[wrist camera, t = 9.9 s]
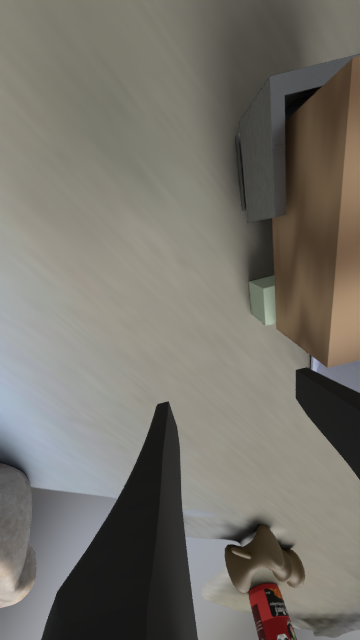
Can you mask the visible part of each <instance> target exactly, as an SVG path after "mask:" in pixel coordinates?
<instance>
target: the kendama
mask: <svg viewBox="0 0 360 640" xmlns="http://www.w3.org/2000/svg"><path fill="white" fill-rule="evenodd" d="M225 561H226V567H227V570H228V573H229V576H230V578H231V580H232V583H233V585H234V586H235V587H236V589H237V590H238V591H240V592H241V593H246V592H248V591H249V588H250V586H251V582H252V577H253V575H254V574H255V572H257V571H258V570H260V569H262V568H265V567H267V568H269V569H270V570H272V571H273V574H274V576H275V577H276V578H277V579H278V581H281V582H287V583H288V585H289V586H291V587H293V588H298V587H301V586H302V584H303V583H304V580H305V572H304V567H303V565H302V562H301V560H300V558H299V557H298V555H297V554H296V553H295V552H294V551H293V550H290V549H287V550H285V551H284V550H283V549H281V548H280V545H279V543H278V541H277V539H276V538H275V536H274V534H273V533H272V532H271V530H270V529H269V528H268V527H266V526H264V525H259V527H258V529H257V531H256V534H255V537H254V539H253V540H252V541H251V542H250V543H249V544H247V545H246V546H243V547H241V546H236V545H233V544H230V545H227V546H226V548H225Z"/></svg>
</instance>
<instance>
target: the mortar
mask: <svg viewBox="0 0 360 640" xmlns="http://www.w3.org/2000/svg"><path fill="white" fill-rule="evenodd" d="M31 515H32V494H31V487H30V483H29V481H28V479H27V477H26V476H25V474H23V473H22V472H21V471H20V470H18V469H16V468H14V467H12V466H9V465H6V464H2V463H0V608H1V607H6V606H10V605H13V604H15V603H17V602H19V601H20V600H21V599H23V598H24V597H25V596H26V595H27V593H28V592H29V591H30V589H31V588H32V587H33V585H34V582H35V578H36V554H35V550H34V549H33V547H32V546H31V545H30V544H29V536H30V528H31Z"/></svg>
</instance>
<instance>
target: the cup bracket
mask: <svg viewBox="0 0 360 640" xmlns="http://www.w3.org/2000/svg"><path fill="white" fill-rule="evenodd" d="M357 56H360V54H357V55H353V56H349V57H345V58H341V59H337V60H333V61H329V62H325V63H321V64H317V65H313V66H309V67H305V68H301V69H297V70H293V71H289V72H285V73H281V74H277V75H273V76H270V77H269V78H268V80H267V81H266V83H265V84H264V86H263V87H262V89H261V90H260V92H259V93H258V95H257V96H256V98H255V99H254V101H253V102H252V104H251V105H250V107H249V108H248V110H247V111H246V113H245V114H244V116H243V117H242V119H241V120H240V122H239V128H240V133H238V134H237V135H236V137H235V139H236V150H237V161H238V172H239V183H240V194H241V205H242V210H246V211H247V223H248V222H254V221H259V220H264V219H270V218H275V217H279V216H283V215H286V162H285V121H286V120H287V119H288V118H289V117H290V116H291V115H293V114H294V113H295V112H296V111H297V110H298V109H299V108H300V107H301V106H302V105H303V104H304V103H305V102H306V101H307V100H308V99H309V98H311V97H312V96H313V95H314V94H315V93H316V92H317V91H318V90H319V89H320V88H321V87H322V86H323V85H324V84H325V83H326V82H327V81H329V80H330V79H331V78H332V77H333V76H334V75H335V74H336V73H337V72H338V71H339V70H340V69H341V68H342V67H343V66H344V65H345V64H347V63H348V62H349V61H350V60H351V59H352V58H353V57H357Z"/></svg>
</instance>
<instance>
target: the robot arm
mask: <svg viewBox="0 0 360 640" xmlns="http://www.w3.org/2000/svg"><path fill="white" fill-rule="evenodd" d="M296 399H297V401H298V402H299V404H300V405H301V407H302V408H303V410H304V411H305V413H306V414H307V416H308V417H309V418H310V419H311V420H312V422H313V423H314V424H315V425H316V426H317V428H318V429H319V430H320V431H321V432H322V434H323V435H324V436H325V437H326V438H327V439H328V441H329V442H330V443H331V444H332V445H333V446H334V448H335V449H336V450H337V451H338V452H339V454H340V455H341V456H342V457H343V458H344V460H345V461H346V462H347V463H348V465H349V466H350V467H351V468H352V470H353V471H354V473H355V474H356V475H357V477H358V478H359V479H360V360H358V361H354V362H350V363H346V364H342V365H338V366H334V367H330V368H327V367H325V366H324V365H323V364H322V363H320V362H319V361H318V360H316V359H315V358H314V357H312V358H311V369H309V368H307V367H306V368H302V369H298V370H296ZM41 640H198V637H197V629H196V622H195V614H194V607H193V599H192V591H191V582H190V574H189V566H188V557H187V550H186V540H185V531H184V522H183V512H182V499H181V470H180V446H179V438H178V430H177V425H176V422H175V419H174V416H173V413H172V410H171V407H170V404H169V401H168V402H164V403H160V404H158V405H157V406H156V410H155V413H154V417H153V420H152V423H151V426H150V429H149V432H148V434H147V437H146V440H145V442H144V445H143V447H142V450H141V452H140V454H139V457H138V459H137V462H136V464H135V466H134V468H133V470H132V472H131V474H130V476H129V478H128V480H127V482H126V484H125V486H124V488H123V490H122V492H121V494H120V496H119V497H118V499H117V501H116V503H115V505H114V506H113V508H112V510H111V512H110V513H109V515H108V517H107V518H106V520H105V522H104V523H103V525H102V526H101V528H100V530H99V531H98V533H97V534H96V536H95V537H94V539H93V541H92V542H91V544H90V545H89V547H88V548H87V550H86V551H85V553H84V554H83V556H82V557H81V559H80V560H79V562H78V563H77V564H76V566H75V567H74V569H73V570H72V571H71V573H70V574H69V576H68V577H67V579H66V580H65V582H64V583H63V585H62V586H61V587H60V589H59V590H58V592H57V594H56V597H55V600H54V603H53V605H52V608H51V610H50V613H49V616H48V619H47V622H46V625H45V630H44V632H43V636H42V639H41Z"/></svg>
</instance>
